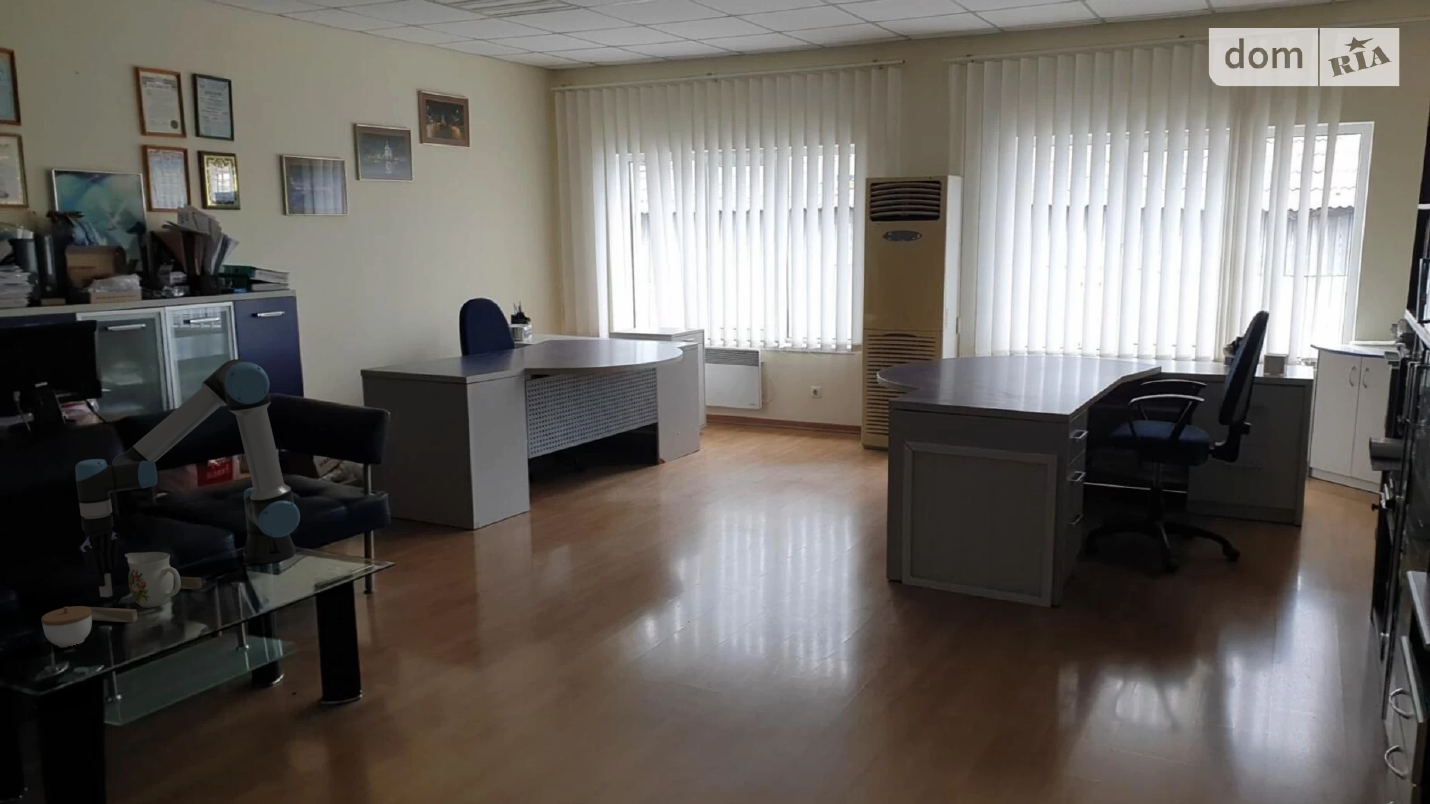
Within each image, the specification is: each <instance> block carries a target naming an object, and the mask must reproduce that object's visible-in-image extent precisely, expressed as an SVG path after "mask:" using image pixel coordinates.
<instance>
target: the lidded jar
mask: <svg viewBox="0 0 1430 804" xmlns="http://www.w3.org/2000/svg"><path fill="white" fill-rule="evenodd" d="M89 607H90V606H86V605H85V606H84V605H81V606H80V605H79V606H78V605H77V606H76V605H75V606H64V607H62V608H58V609H55V610H52V611H50V612H47V613H46V614H44V615H42V617H41V620H40V621H41V624H42V629H43V633H44V636H45V638H47V640H48V641H49V642H50V643H51V644H53V645H55V646H56V645H57V646H59V647H58V648H69V647H68V646H71V647H74V646H73V645H75V646H77V645H76V644H78V645H79V644H82V643H84V642H85V640H86V638H87V637H88V635H89V634H90V633H91V630H92V624H93V620H92V615H91V614H92V610H91V608H89ZM57 646H56V647H57Z"/></svg>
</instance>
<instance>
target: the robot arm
mask: <svg viewBox="0 0 1430 804" xmlns="http://www.w3.org/2000/svg"><path fill="white" fill-rule="evenodd" d="M269 390H270V380H269V376H268V374H267V373H266V371H265V370H264V369H263V368H262V366H260V365H258V364H256V363H254V362H250V361H247V360H246V359H241V358H240V359H239V358H235V359H231V360H228V361H226V362H224V363H223V364H221V365H220V366H219V367H218V368H217V369H216V370H215V371H214V372H213V373H212V374H211V375H209V376H208V377H206V379H204V381H202V382H201V387H200V389H198V390H197V391H196V392H195V393H194V394H192V395H191V396H190V397H189V398H188V399H187V400H185V401H184V402H183V403H182V404H181V405H179V406H178V407H177V408H176V409H175V410H174V411H172V412H171V413H170V414H169V415H167V416H166V418H164V419H163V420H162V421H161V422H159V423H158V424H157V425H156V426H155V427H153V429H151V430H150V431H149V432H148V433H147V434H146V435H144V436H143V437H142V438H141V439H139V440H138V441H137V442H136V443H135V444H134V445H133V446H131V447H130V448H129V449H127V450H126V451H125V452H123V453H120V454H118V455H116V456H115V457H114V459H113V461H112V462H111V464H109V465H108V463H107V461H106V460H105V459H102V458H96V459H95V458H93V459H85V460H82V461H79V462H77V463H76V465H75V468H74V469H75V483H76V490H77V496H78V502H79V503H78V505H79V511H80V512H79V513H80V517H81V519H80V520H81V529H82V531H83V532H84V533H85V536H84V542H83V543H82V544H79V545H78V547H77V549H78V550H79V551H80V552H81V554H82V557H83V559H84V562H85V564H86V568H87V571H88V574H89V575H90V576H95V578H96V584H97V586H98V588H99V596H100V598H101V597H102V598H110V597H112V596H113V595H114V594H113V588H112V583H113V577H112V573H115V571H116V570H115V569H116V568H118V554H119V541H120V538H121V533H120V532H119V533H118V532H114V530H113V527H114V526H115V525H114V517H113V514H112V513H113V508H112V499H111V493H115V492H121V491H122V492H123V491H130V490H137V489H139V490H140V489H146V488H151V487H155V486H156V485H158V471H157V465H156V462H157V461H158V460H159V459H160V458H162V456H163V455H165V454H166V453H167V452H169V451H170V450H171V449H173V447H175V446H176V445H177V444H178V443H179V442H180V441H181V440H183V439H184V438H185V437H186V436H188V434H189V433H191V432H192V431H193V430H194V429H196V428H197V427H198V426H199V425H201V423H202V422H204V421H205V420H206V419H207V418H208V417H210V416H211V414H213V413H214V412H215V411H217V410H218V409H219V408H220V407H226V406H227V407H228V412H230V413H232V414H234V415H235V418H236V420H237V421H236V422H237V426H238V428H239V429H238V430H239V434H240V436H241V442H242V447H243V451H244V454H245V458H246V462H247V466H248V472H249V475H250V479H251V483H252V486H251V487H249V488H247V489H246V488H245V490H244V492H243V501H244V510H245V511H244V512H245V521H246V532H247V537H246V541H245V546H244V549H243V552H242V553H243V561H245V562H246V563H249V564H269V563H270V564H271V563H275V562H276V563H277V562H280V561H283V560H287V559H290V558H292V557H293V556H295V555H296V546H295V544H294V542H293V540H292V537H291V535H290V534H291V533H293V532H294V531H295V530H296V529H297V527H298V526H299V524H300V520H301V515H300V514H301V513H300V510H299V508H298V506H297V505H296V504H295V502H294V501H295V500H294V497H293V493H292V489H291V486H290V485H287V484H286V483H285V482H284V478H283V474H282V470H281V465H280V460H279V455H278V451H277V447H276V444H275V443H276V442H275V439H274V438H275V437H274V435H273V430H272V426H271V422H270V417H269V414H268V407H269V406H270V404H271V403H272V401H271V399H270V398H271V397H270V393H269Z"/></svg>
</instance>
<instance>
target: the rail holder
mask: <svg viewBox="0 0 1430 804" xmlns="http://www.w3.org/2000/svg"><path fill="white" fill-rule="evenodd" d="M173 577H174V576H173ZM202 580H203V579H202V577H194V576H180V581H181V586H180V589H181V590H182V589H183V590H185V589H187V590H200V589H202V588H203V583H202ZM174 588H175V578H174V584H173V589H174ZM88 607H89V608H91V610H92V614H91V615H92V621H100V622H101V621H102V622H103V621H104V622H116V623H117V622H118V623H119V622H120V623H135V622H137V621H138V613H137V612H138V611H137V609H134V608H133V609H132V608H118V607H117V608H115V607H114V608H113V607H98V606H97V607H96V606H88Z"/></svg>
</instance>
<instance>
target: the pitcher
mask: <svg viewBox="0 0 1430 804" xmlns="http://www.w3.org/2000/svg"><path fill="white" fill-rule="evenodd" d="M170 556H171V555H170V554H169V553H168V552H162V551H148V552H147V551H146V552H126V553H125V554H124V557H125V558H126V559H127V565H128V568H129V572H128V577H127V578H128V579H127V582H128V587H129V592H130V594H131V596H132V598H133V599H134V601H135V602H136V603H137V604H138V605H139V606H140V607H141V608H155V607H161V606H162V605H165V604H167V602H168V601H169V599H170V598H173V597H174V596H176V595H177V594H178V593H179V592H180V589H181V588H180V586H181V581H180V577H181V576H180V574H179V572H178V570H177V569H176V568H174V567H172V566H171V565H170ZM173 576H174V577H173ZM174 578H175V588H173V584H174Z"/></svg>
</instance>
